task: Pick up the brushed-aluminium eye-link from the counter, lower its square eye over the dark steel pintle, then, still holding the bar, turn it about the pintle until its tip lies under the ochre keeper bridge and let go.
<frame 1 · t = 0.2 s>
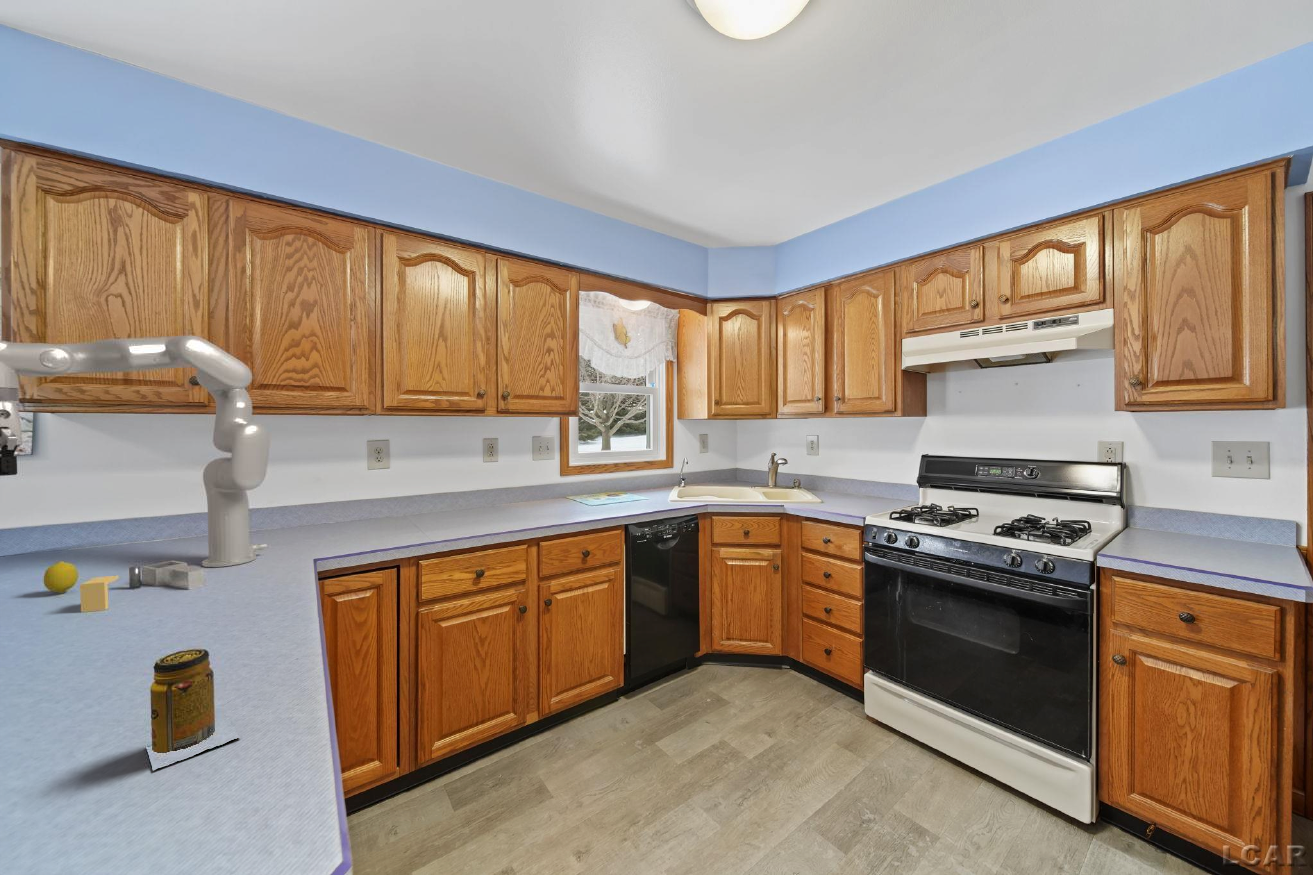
lemon: (61, 594, 126), on the worktop
condiment: (194, 745, 67), on the worktop
pintle: (135, 588, 130), on the worktop
link: (197, 587, 130), on the worktop
keeper: (101, 606, 117), on the worktop
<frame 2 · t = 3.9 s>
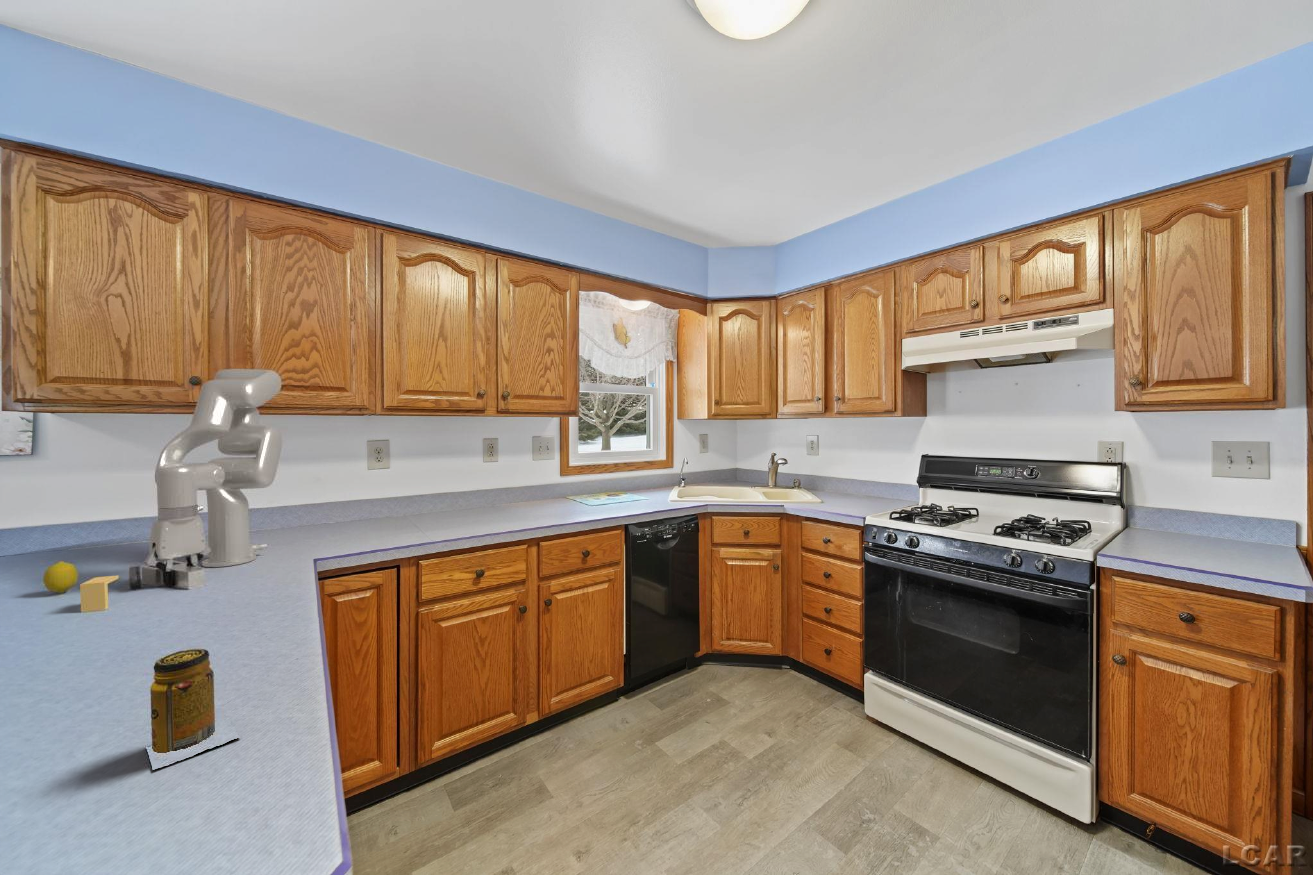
hand: (179, 582, 133), 0 cm above the worktop, fingers closed on link, 3 cm apart
link: (197, 587, 130), on the worktop, touching gripper
everything else where it was.
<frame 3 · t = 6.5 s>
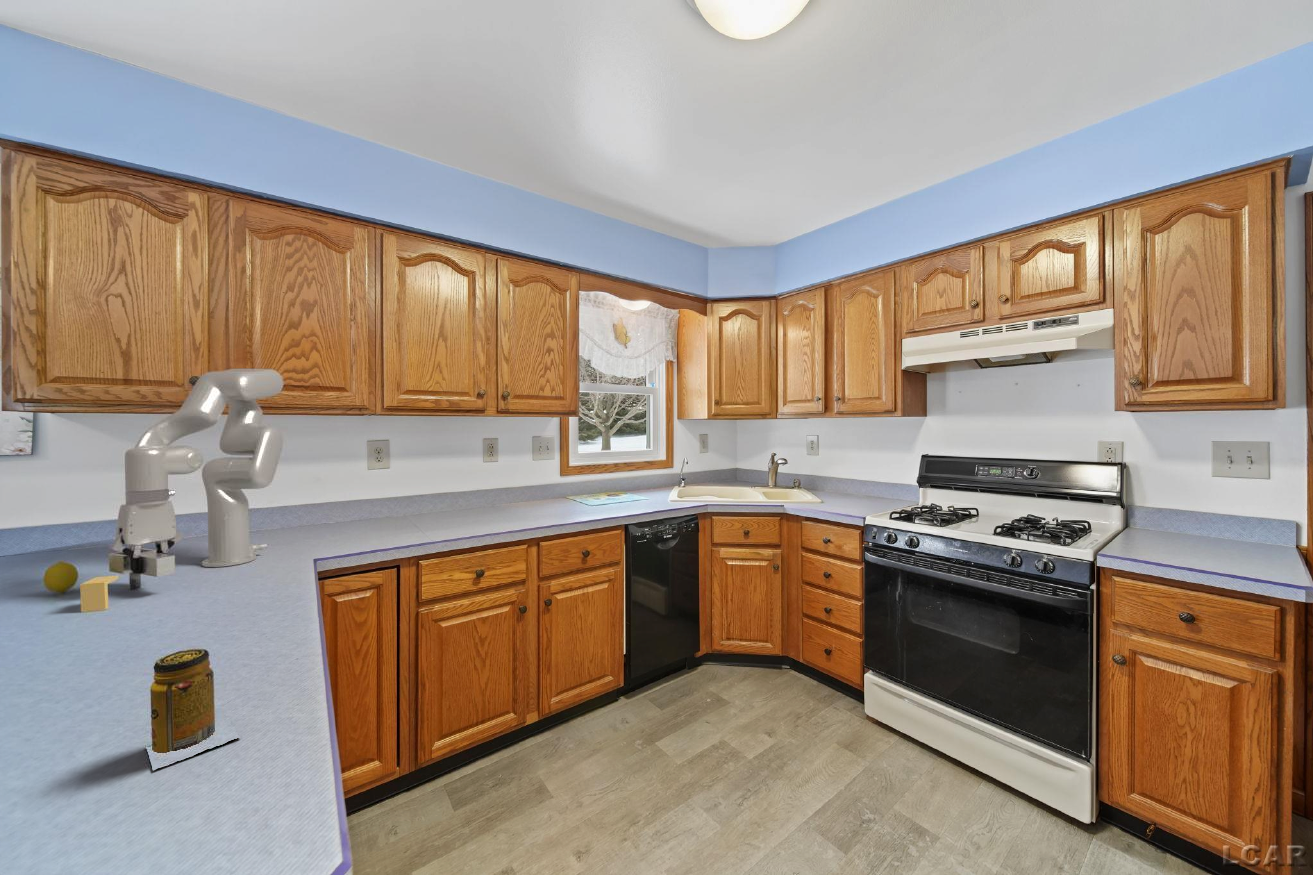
hand: (148, 570, 127), 5 cm above the worktop, fingers closed on link, 3 cm apart
link: (166, 575, 124), point 5 cm above the worktop, touching gripper
everything else where it was.
when the fingers open (1 cm above the worktop, at t = 9.3 s): link stays where it is, on the worktop.
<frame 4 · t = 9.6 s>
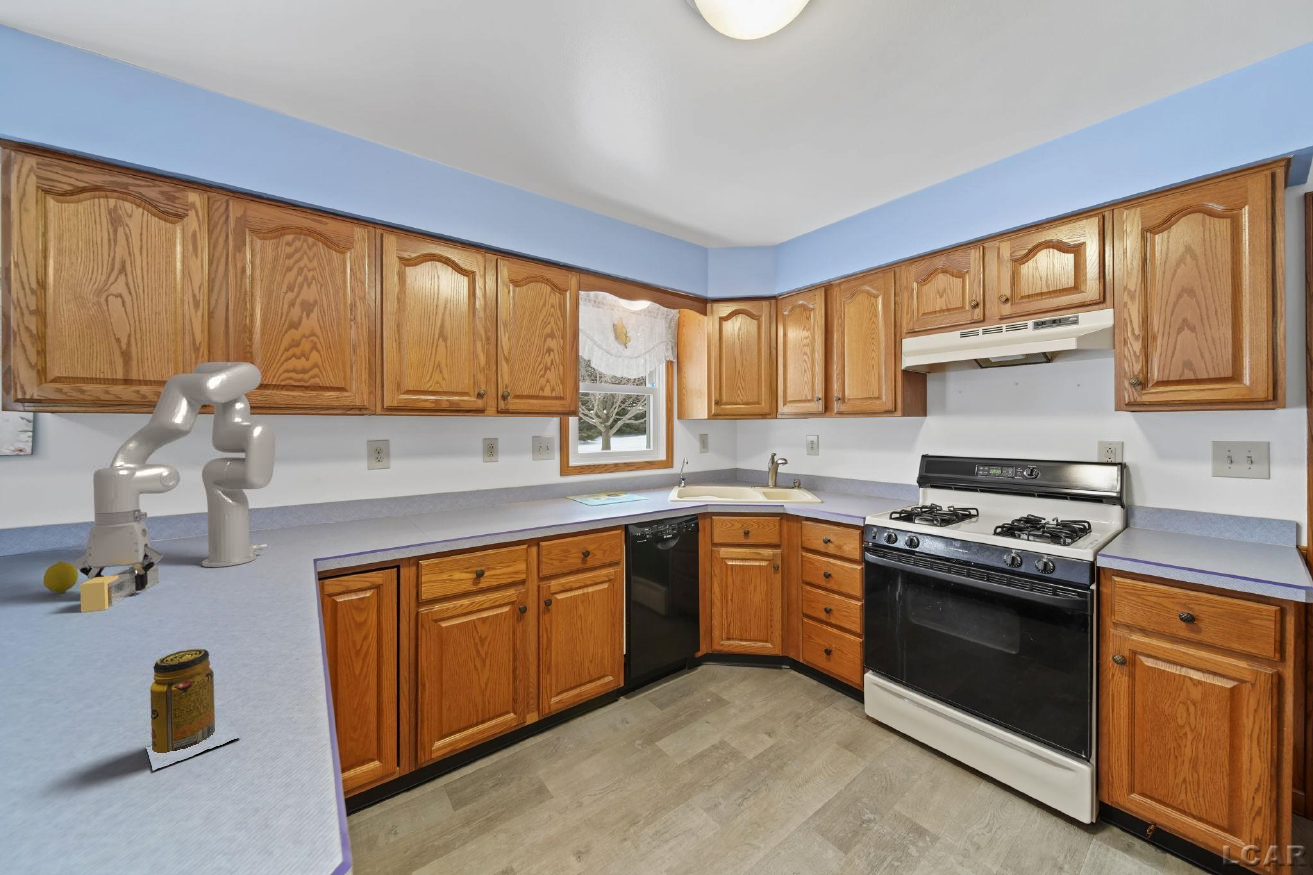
hand: (120, 590, 124), 1 cm above the worktop, fingers open, 7 cm apart
link: (101, 606, 117), on the worktop
everything else where it was.
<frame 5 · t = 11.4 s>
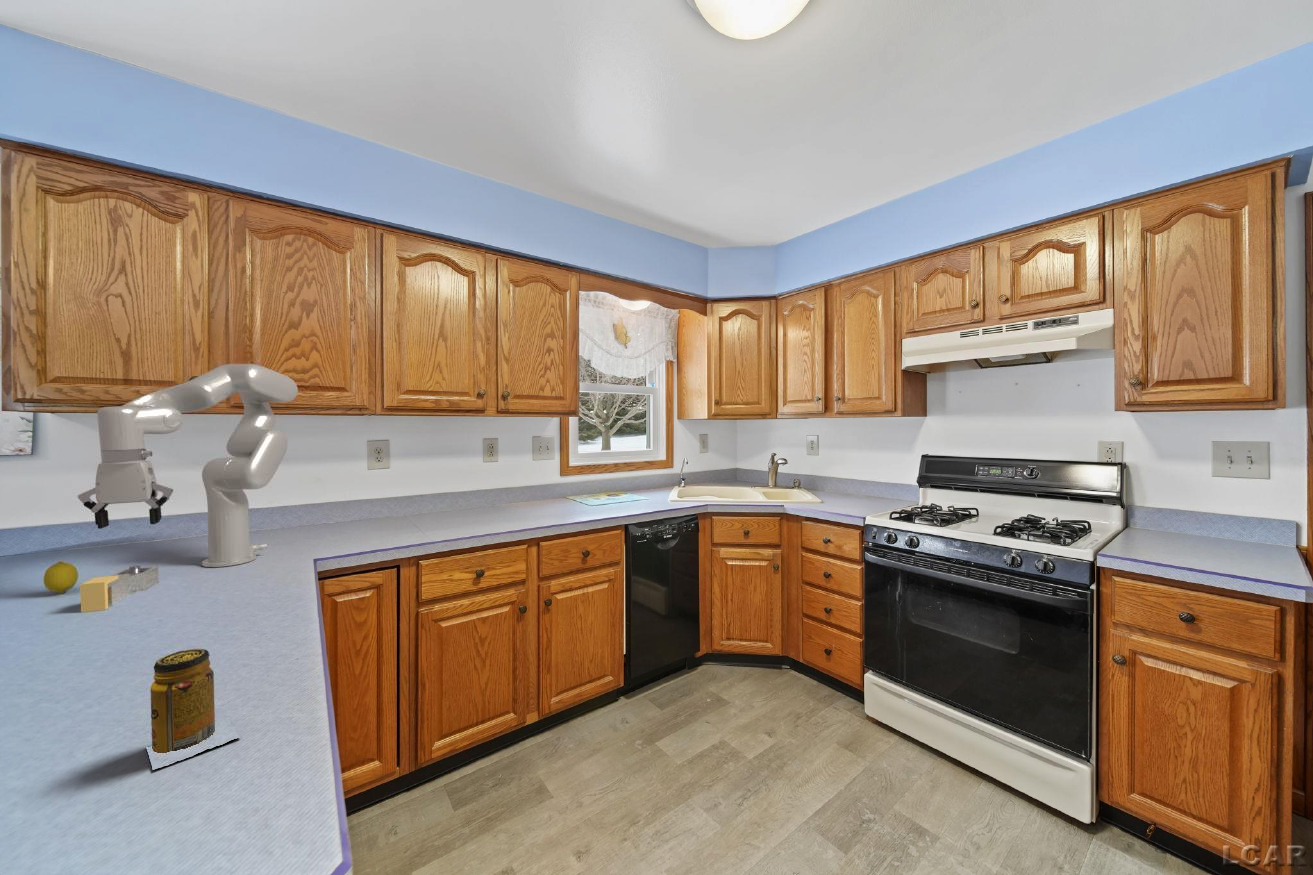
hand: (129, 525, 127), 17 cm above the worktop, fingers open, 9 cm apart
nothing on the worktop moved.
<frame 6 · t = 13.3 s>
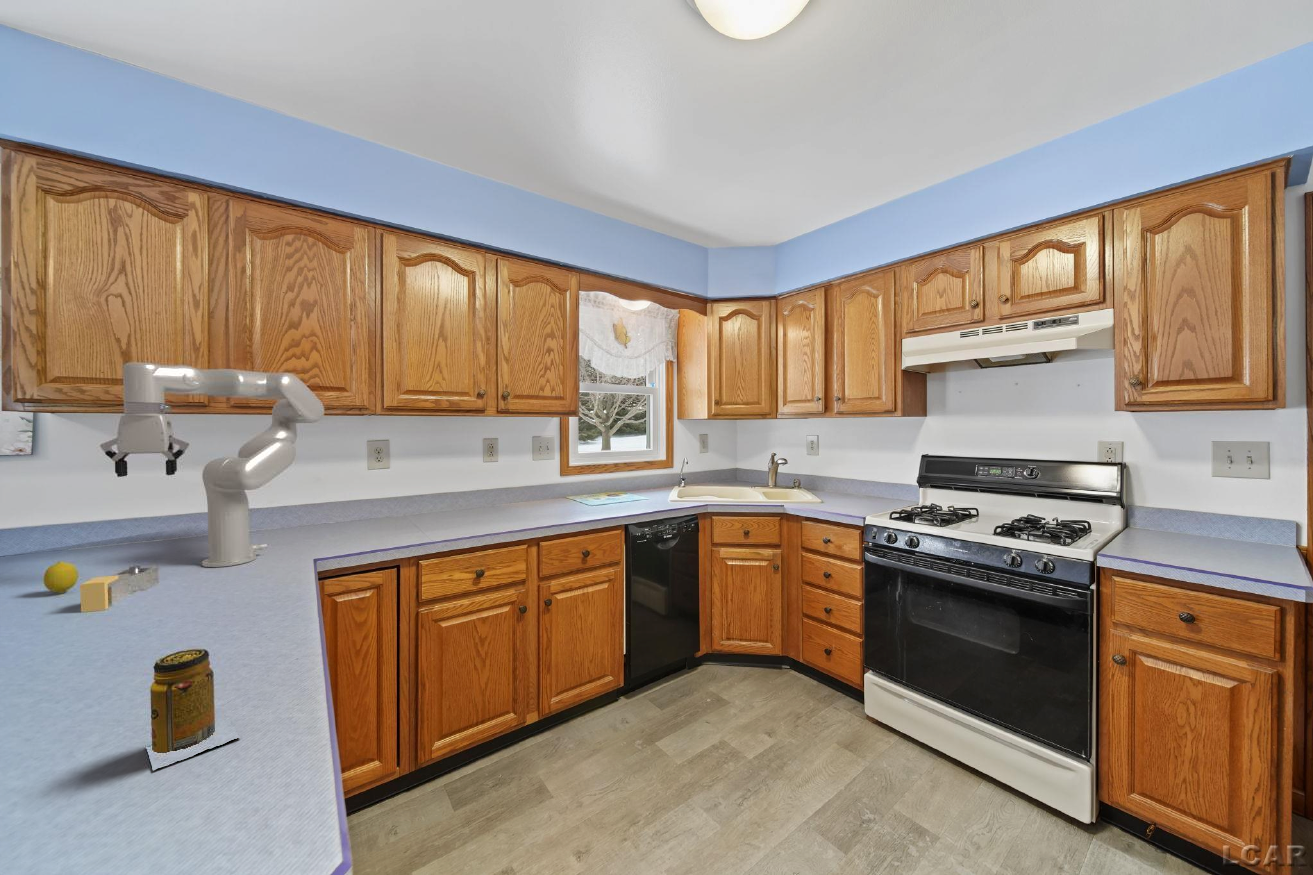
hand: (146, 475, 134), 28 cm above the worktop, fingers open, 9 cm apart
nothing on the worktop moved.
at the end: link 0.1 cm from the keeper (horizontally); link 14.3 cm from the pintle (horizontally); link on the worktop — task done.
